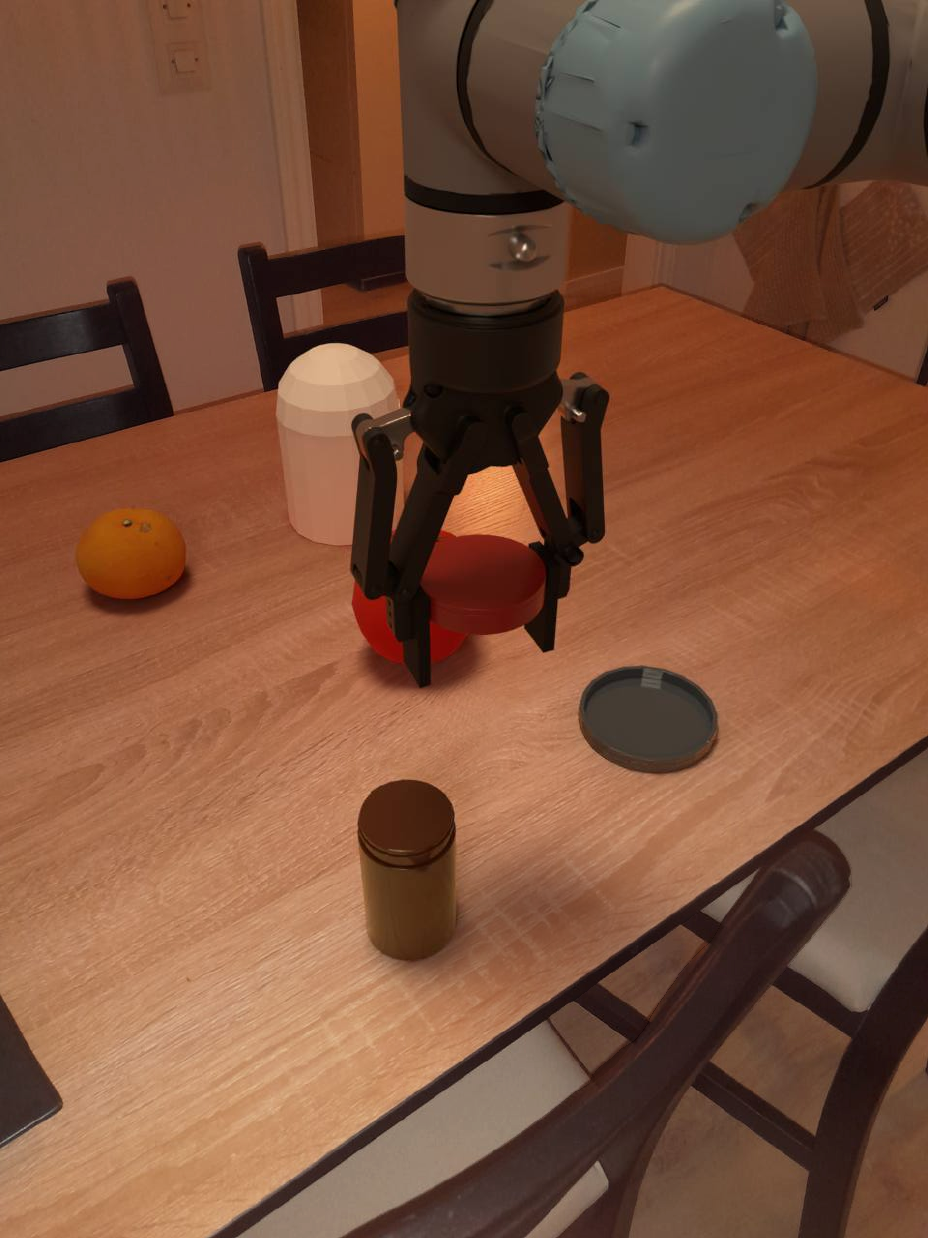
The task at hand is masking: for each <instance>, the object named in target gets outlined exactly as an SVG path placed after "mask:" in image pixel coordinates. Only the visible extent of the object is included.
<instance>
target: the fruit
mask: <svg viewBox="0 0 928 1238" xmlns="http://www.w3.org/2000/svg"><path fill="white" fill-rule="evenodd" d="M186 560H187V547H186V541H185V538H184V536H183V533H182V532H181V530H180V529H179V527H178V526H177V525H176V523H174V521H173V520H171V518H169V516H167V515H165V514H164V513H163V512H159V511H157V510H154V509H150V508H149V509H148V508H137V507H120V508H115V509H112V510H109V511H106V512H103V513H102V514H100V515H99V516H98V517H96V518H95V519H94V520H93V521H92V522H91V523H90V524H89V525H88V526H87V527H86V528H85V529H84V531H82V533H81V535H80V537H79V539H78V541H77V544H76V549H75V562H76V565H77V569H78V572H79V574H80V576H81V578H82V579H83V581H84V582H85V583H86V584H87V585H88V586H89V587H90V588H91V589H92V590H94V591H95V592H97V593H99V594H101V595H103V596H107V597H109V598H114V599H120V600H136V599H144V598H147V597H150V596H154V595H155V596H156V595H157V594H159V593H161V592H163V591H165V590H167V589H169V588H170V587H171V586H173V585H174V584H175V583H176V582H177V581H178V580H179V579H180V578H181V576H182V574H183V572H184V569H185V565H186Z"/></svg>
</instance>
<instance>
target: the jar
mask: <svg viewBox="0 0 928 1238" xmlns="http://www.w3.org/2000/svg"><path fill="white" fill-rule="evenodd" d="M357 817H358V818H357V822H356V824H357V833H356V835H357V845H358V854H359V864H360V865H359V866H360V877H361V884H362V886H361V887H362V895H363V904H364V906H363V907H364V915H365V925H366V931H367V935H368V937H369V940H370V941H371V943H372V944H373V945H374V947H375V948H376V949H378V951H380V952H381V953H382V954H384V955H385V956H388V957H390V958H393V959H395V960H399V961H420V960H423V959H427V958H429V957H432V956H434V955H436V954H437V953H439V952H440V951H442V950H443V949H444V948H445V947H446V946H447V945H448V944H449V942H450V941H451V939H452V938H453V936H454V934H455V930H456V927H457V825H456V822H455V817H456V813H455V809H454V806H453V803H452V802H451V800H450V799H449V797H448V796H447V794H445V793H444V792H443V791H442V790H441V789H439V788H438V787H437V786H435V785H433V784H431V783H429V782H425V781H422V780H418V779H399V780H393V781H392V780H391V781H389V782H386V783H385V784H380V785H378V786H377V787H376V788H374V789H372V790H370V793H369V795H367V797H366V798H365V799H364V801H363V802H362V804H361V807H360V808H359V813H358V816H357Z"/></svg>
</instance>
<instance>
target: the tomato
mask: <svg viewBox="0 0 928 1238" xmlns="http://www.w3.org/2000/svg"><path fill="white" fill-rule="evenodd" d="M395 531H396V530H394V531H392V535H391V541H392V539H393V536H394V533H395ZM453 537H457V536H456V535H455V534H454V533H452V532H449V531H446V530H443V529H441V531H440V533H439V536H438V538H437V541H436V543H435V544H437V543H439V542H441V541H444V540H447V539H450V538H453ZM390 544H391V543H390ZM353 584H354V585H353V589H352V598H351V607H352V610H353V614H354V617H355V620H356V623H357V626H358V628H359V630H360V633H361V634H362V636H363V637H364V638H365V640H366V642H367V643H368V644H369V646H370V647H371V649H372V650H374V652H376V653H377V654H379V655H380V656H381V657H383V658H385V659H386V660H388V661H390V662H392V663H395V664H404V665H405V663H404V660H403V642H400V643H399V642H398V641H397V639H396V637H395V636H394V634H393V632H392V631H391V629H390V628H389V626H388V624H387V618H386V616H387V615H386V601H385V596H382V597H380V598H379V599H376V600H369V599H367V598H366V597H365V595H364V594H363V592H362V591H361V589H360V587H359V586H358V584H357V582H356V581H355V580H354V583H353ZM467 635H468V634H463V633H458V632H454V631H451V630H448V629H445V628H443V627H441V626H439V625H437V624H435V623H433V622H432V621H431V620H430V642H431V665H432V664H435V663H438V662H440V661H441V662H442V661H443V660H444V659H446V658H448V657H449V656H451V655H452V654H454V653H455V652H456V651H457V650H458V649H459V648H460V646H461V645H462V643H463V642H464V640H465V639H466V637H467Z"/></svg>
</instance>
